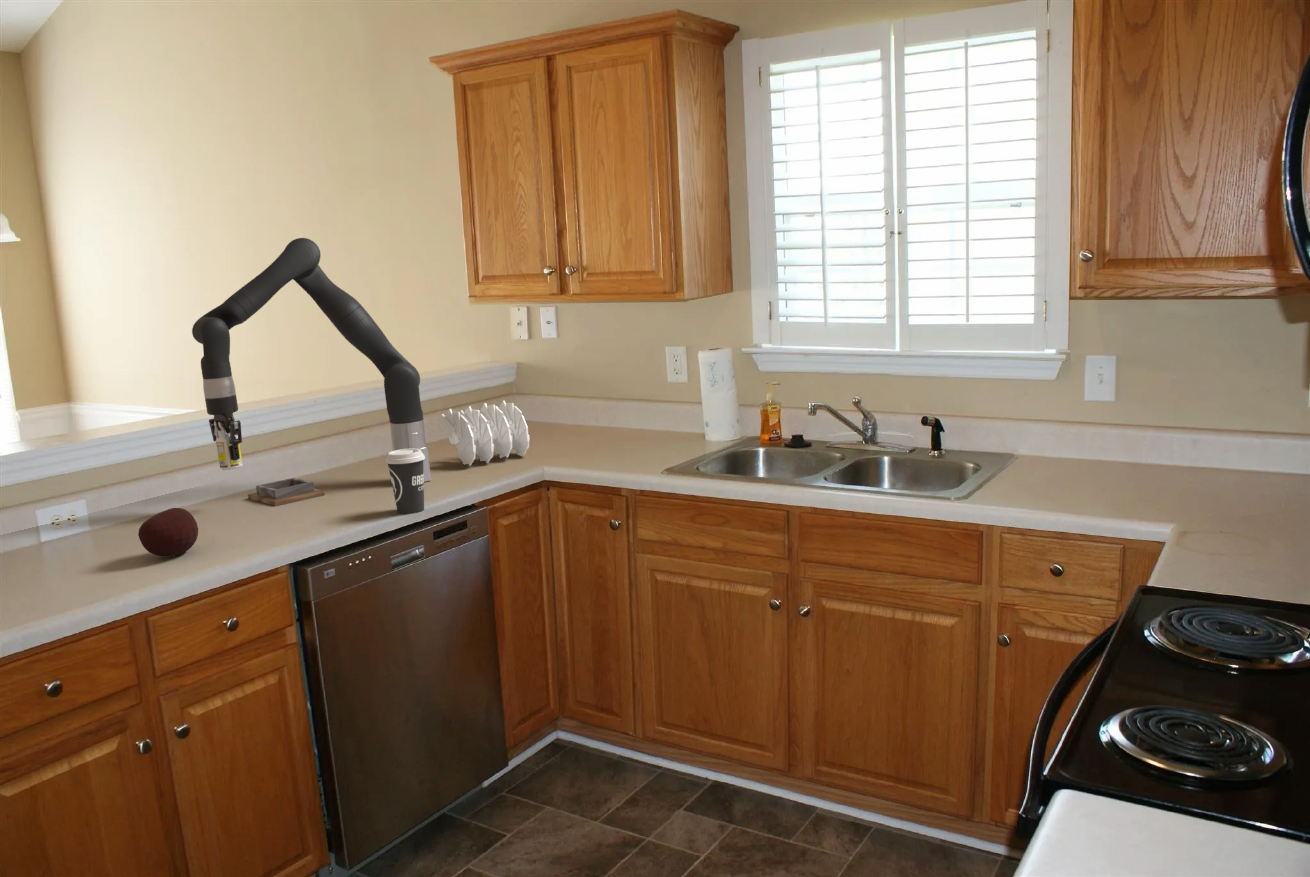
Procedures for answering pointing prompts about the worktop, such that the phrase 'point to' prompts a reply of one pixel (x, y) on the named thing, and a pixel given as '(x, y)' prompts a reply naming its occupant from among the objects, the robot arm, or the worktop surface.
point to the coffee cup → (407, 479)
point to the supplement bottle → (226, 454)
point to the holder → (285, 492)
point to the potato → (169, 532)
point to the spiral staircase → (486, 431)
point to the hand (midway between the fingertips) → (230, 458)
